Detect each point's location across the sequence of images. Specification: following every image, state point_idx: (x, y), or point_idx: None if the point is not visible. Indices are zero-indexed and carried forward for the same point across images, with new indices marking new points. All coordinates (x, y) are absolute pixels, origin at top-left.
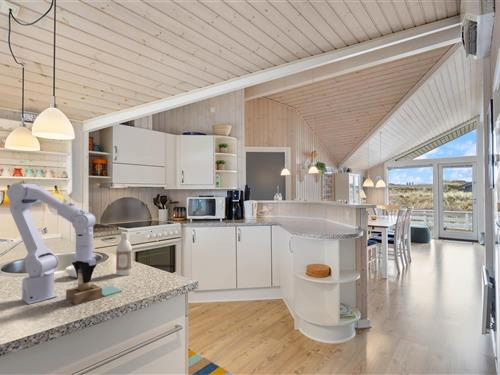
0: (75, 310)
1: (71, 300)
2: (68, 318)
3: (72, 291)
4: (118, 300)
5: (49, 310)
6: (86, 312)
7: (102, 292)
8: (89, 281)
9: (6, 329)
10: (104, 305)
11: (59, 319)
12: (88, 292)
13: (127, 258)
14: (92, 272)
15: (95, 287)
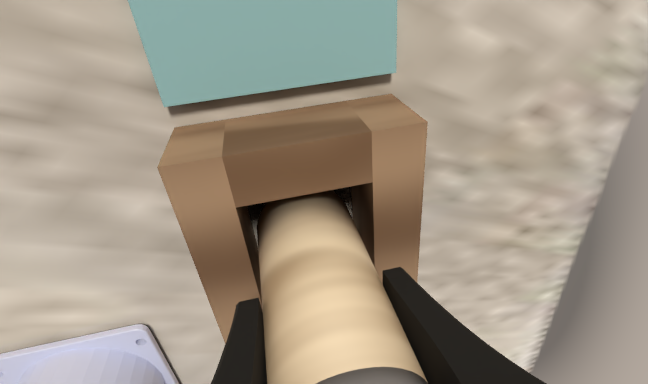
0: (462, 261)
1: None
2: (521, 289)
3: None
4: (565, 6)
5: None
6: (536, 225)
7: (299, 60)
8: (406, 276)
9: None
10: (546, 126)
11: (496, 314)
12: (417, 229)
13: None
14: (490, 347)
15: (348, 165)
